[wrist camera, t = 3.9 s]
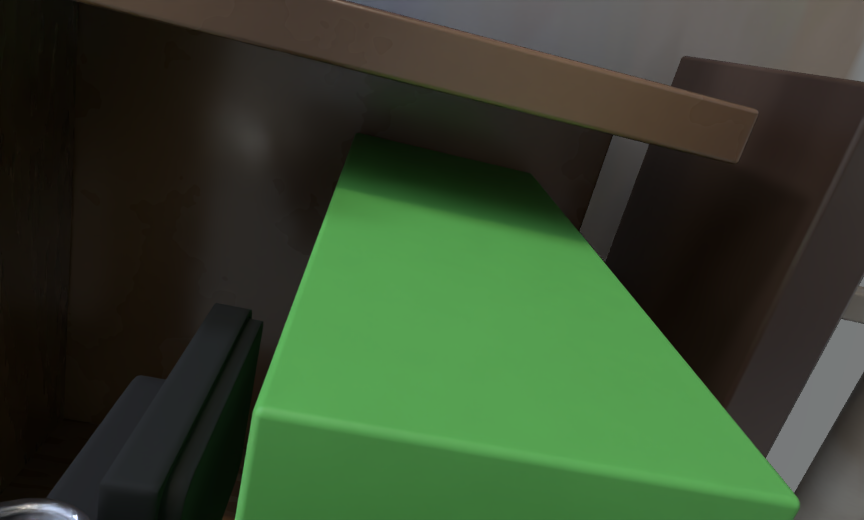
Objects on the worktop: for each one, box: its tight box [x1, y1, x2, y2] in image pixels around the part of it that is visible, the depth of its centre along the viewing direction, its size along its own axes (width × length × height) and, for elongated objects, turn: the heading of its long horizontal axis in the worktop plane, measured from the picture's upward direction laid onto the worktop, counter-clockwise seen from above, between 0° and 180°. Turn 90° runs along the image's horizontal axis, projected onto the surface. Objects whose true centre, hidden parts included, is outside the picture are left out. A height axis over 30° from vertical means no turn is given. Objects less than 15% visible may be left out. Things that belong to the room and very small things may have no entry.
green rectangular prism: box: [235, 133, 800, 520], centre depth 10 cm, size 4×7×10 cm, turn 166°
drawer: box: [0, 0, 864, 520], centre depth 13 cm, size 19×13×6 cm
